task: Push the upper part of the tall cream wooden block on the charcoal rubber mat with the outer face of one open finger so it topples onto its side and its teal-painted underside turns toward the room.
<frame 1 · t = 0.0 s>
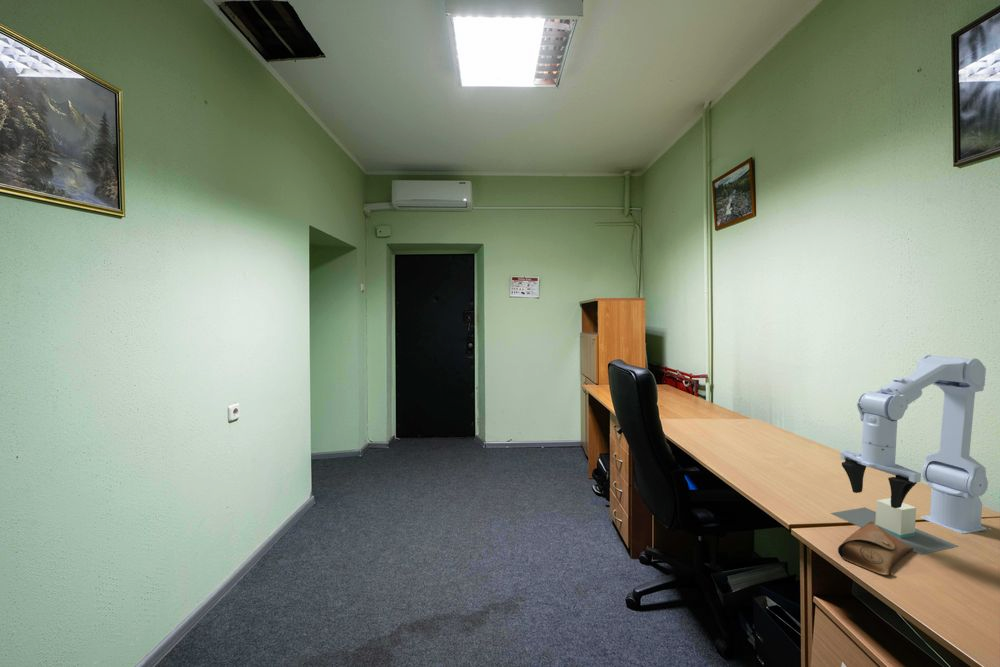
hand: (875, 499, 91), 10 cm above the table, tool pointing down, fingers open, 7 cm apart
sunglasses case: (876, 554, 86), on the table, touching rubber mat
rubber mat: (889, 529, 96), on the table
cream block: (894, 531, 94), resting on rubber mat
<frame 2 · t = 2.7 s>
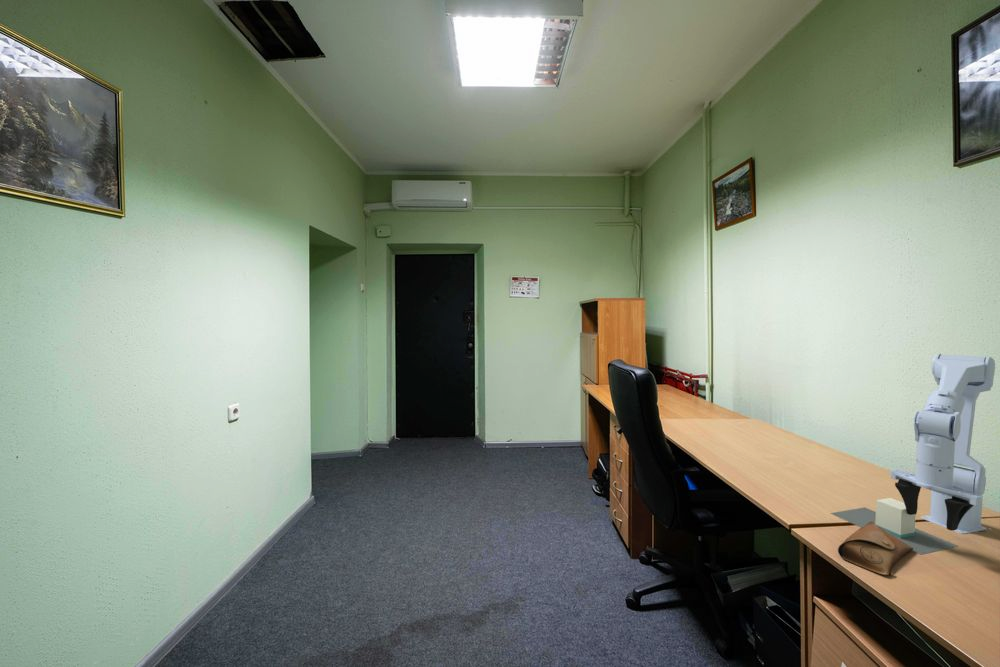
hand: (931, 521, 88), 6 cm above the table, tool pointing down, fingers open, 6 cm apart
cream block: (894, 531, 94), resting on rubber mat, touching gripper
everything else where it was.
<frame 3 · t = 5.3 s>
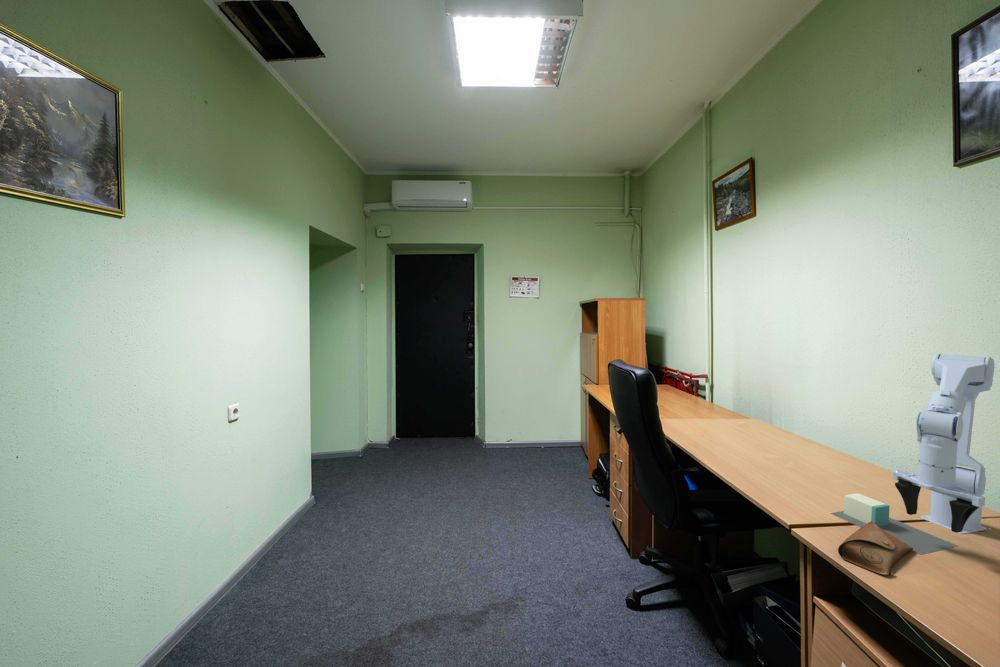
hand: (933, 522, 87), 6 cm above the table, tool pointing down, fingers open, 7 cm apart
cream block: (882, 516, 97), point 3 cm above the table, tilted 90°, touching rubber mat
everything else where it was.
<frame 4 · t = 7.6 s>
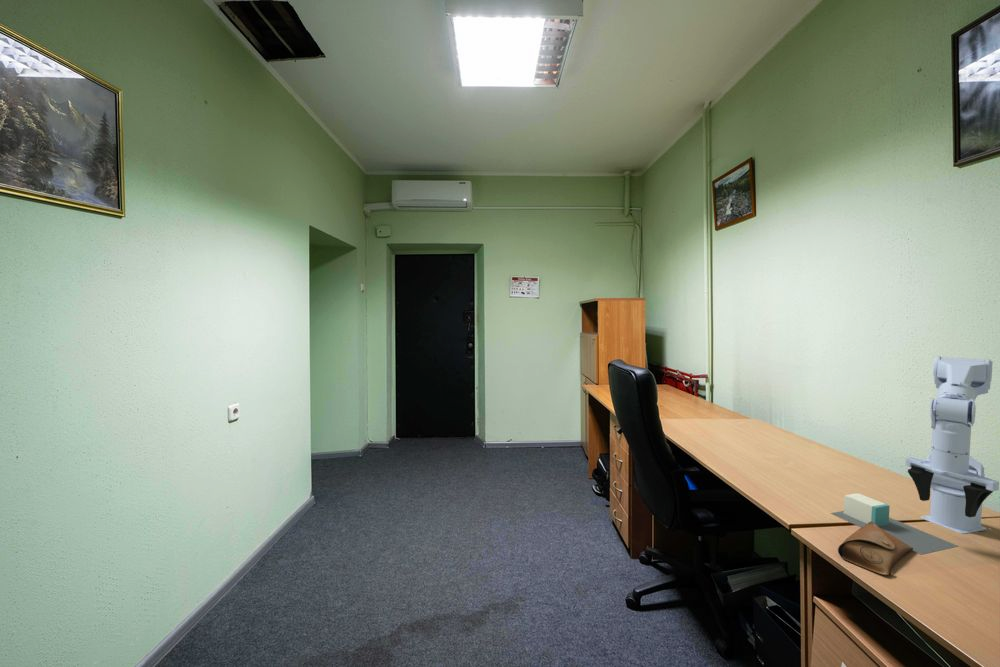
hand: (946, 507, 88), 9 cm above the table, tool pointing down, fingers open, 7 cm apart
nothing on the table moved.
at the end: cream block tilted 90°; cream block inside the target area (0.9 cm from its centre), point 2.9 cm above the table; cream block touching rubber mat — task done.
